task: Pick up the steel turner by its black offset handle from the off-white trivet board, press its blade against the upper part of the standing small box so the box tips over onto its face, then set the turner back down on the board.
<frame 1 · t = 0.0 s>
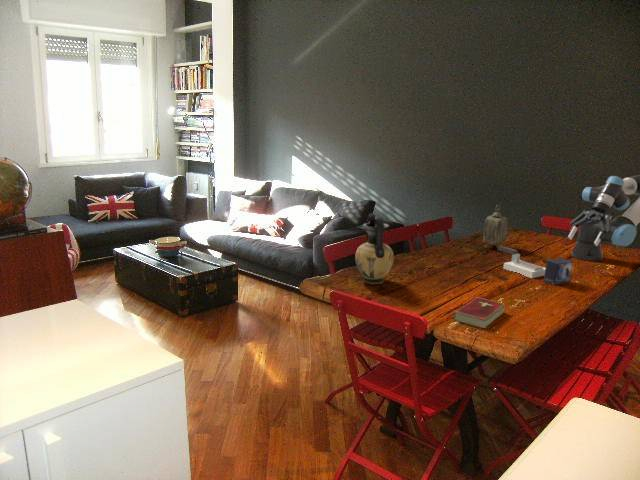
hand: (582, 241, 261), 15 cm above the table, tool tilted 35°, fingers open, 13 cm apart
turner: (521, 264, 263), point 3 cm above the table, touching trivet board
hardcover book: (479, 317, 204), on the table
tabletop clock: (493, 247, 305), on the table
small box: (556, 282, 247), on the table
trivet board: (520, 270, 264), on the table
amphora: (373, 281, 240), on the table
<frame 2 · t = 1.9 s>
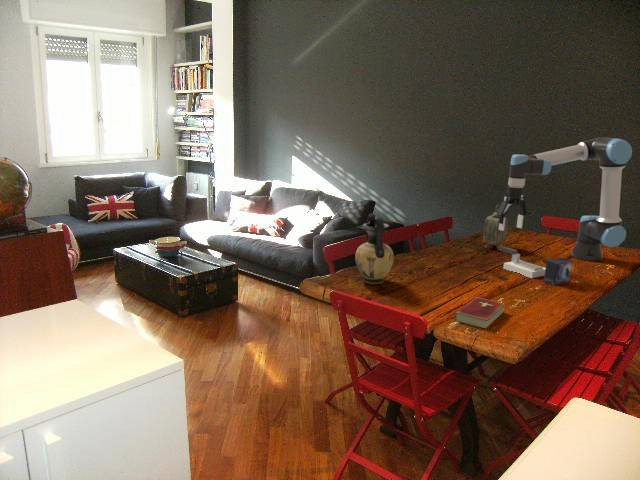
hand: (510, 228, 266), 19 cm above the table, tool pointing down, fingers open, 13 cm apart
nothing on the table moved.
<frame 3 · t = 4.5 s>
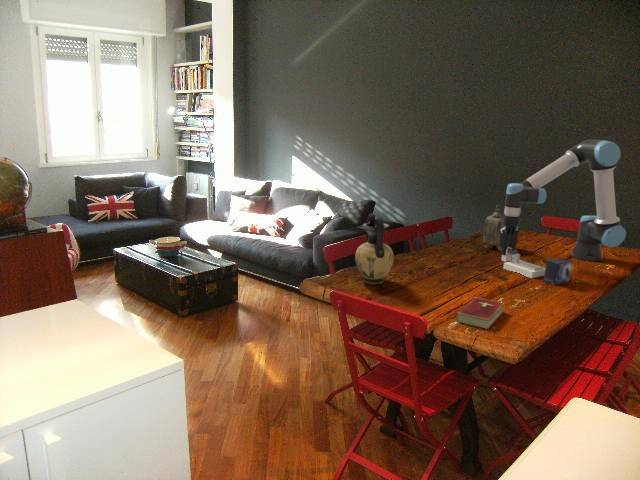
hand: (506, 260, 270), 3 cm above the table, tool pointing down, fingers closed on turner, 2 cm apart
turner: (521, 264, 263), point 3 cm above the table, touching gripper, trivet board
everything else where it was.
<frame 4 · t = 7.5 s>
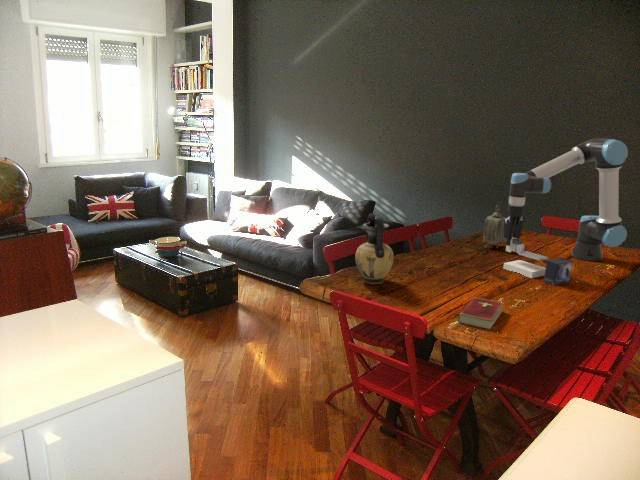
hand: (510, 251, 268), 8 cm above the table, tool pointing down, fingers closed on turner, 2 cm apart
turner: (525, 254, 260), point 8 cm above the table, touching gripper
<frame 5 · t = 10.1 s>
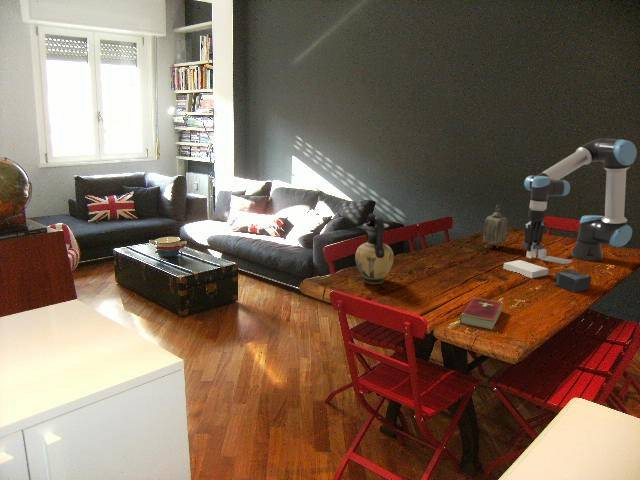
hand: (531, 257, 258), 8 cm above the table, tool pointing down, fingers closed on turner, 2 cm apart
turner: (548, 259, 250), point 9 cm above the table, tilted 5°, touching gripper
small box: (562, 277, 244), point 3 cm above the table
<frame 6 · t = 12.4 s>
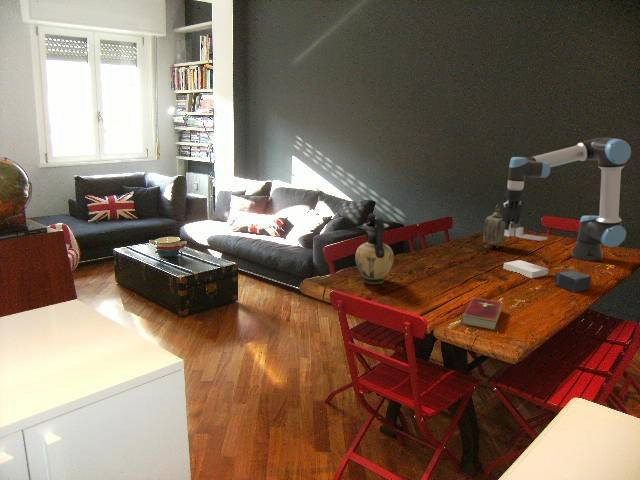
hand: (509, 235, 267), 15 cm above the table, tool pointing down, fingers closed on turner, 2 cm apart
turner: (525, 237, 259), point 17 cm above the table, tilted 5°, touching gripper
when the fingers open (4 cm above the table, at t = 14.1 s): turner drops 2 cm, resting on trivet board.
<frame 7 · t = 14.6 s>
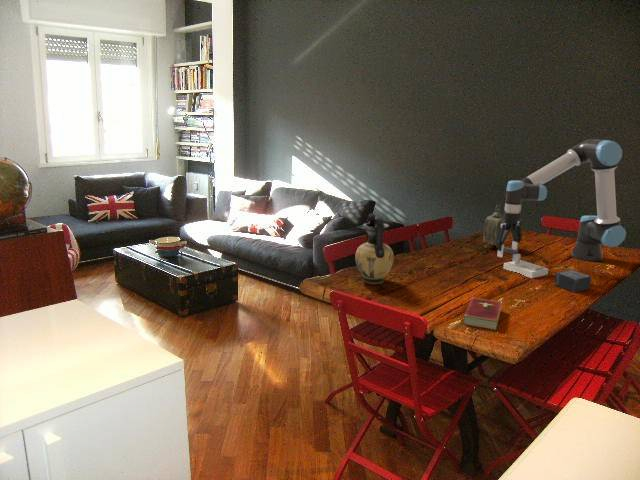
hand: (506, 255, 270), 5 cm above the table, tool pointing down, fingers open, 10 cm apart
turner: (521, 264, 263), point 3 cm above the table, touching trivet board
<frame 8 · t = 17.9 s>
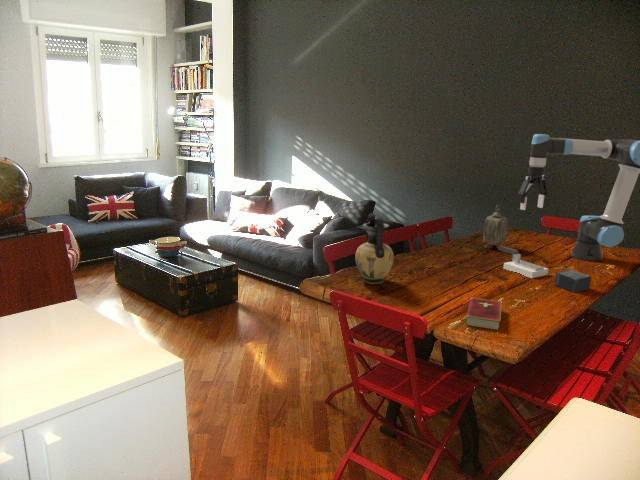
hand: (531, 208, 269), 29 cm above the table, tool pointing down, fingers open, 13 cm apart
at the end: small box tilted 90°; turner inside the target area on the trivet board (0.3 cm from its centre), point 3.0 cm above the trivet board's base; the gripper is holding nothing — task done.
